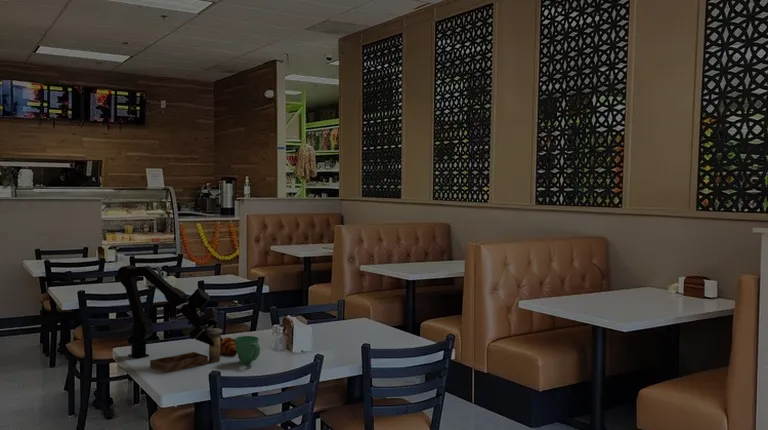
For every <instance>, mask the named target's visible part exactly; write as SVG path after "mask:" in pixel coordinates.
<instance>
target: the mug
mask: <svg viewBox="0 0 768 430" xmlns="http://www.w3.org/2000/svg"><path fill="white" fill-rule="evenodd" d="M234 339H235V345H236V350H237V353H236V354H237V357H238V360H239V363H240V364H245V365H246V364H251V363H253V362H255V361H256V360H257V359H258V357H259V355H260V353H261V352H260V351H261V347H260V344H259V337H257V336H253V335H242V336H238V337H235V338H234Z"/></svg>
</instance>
